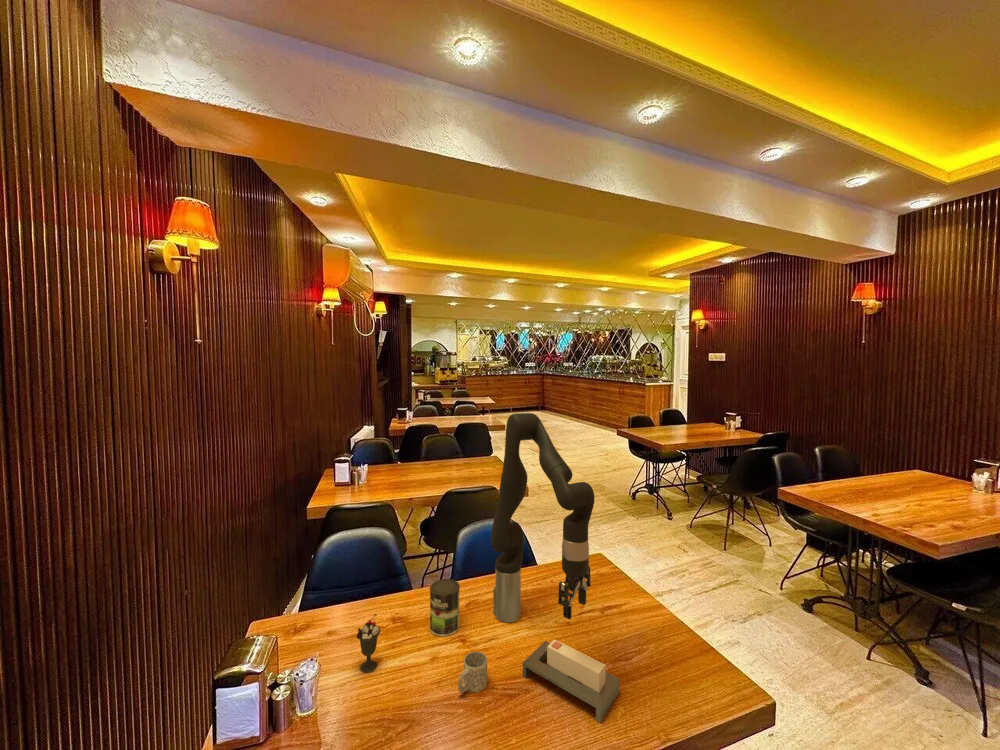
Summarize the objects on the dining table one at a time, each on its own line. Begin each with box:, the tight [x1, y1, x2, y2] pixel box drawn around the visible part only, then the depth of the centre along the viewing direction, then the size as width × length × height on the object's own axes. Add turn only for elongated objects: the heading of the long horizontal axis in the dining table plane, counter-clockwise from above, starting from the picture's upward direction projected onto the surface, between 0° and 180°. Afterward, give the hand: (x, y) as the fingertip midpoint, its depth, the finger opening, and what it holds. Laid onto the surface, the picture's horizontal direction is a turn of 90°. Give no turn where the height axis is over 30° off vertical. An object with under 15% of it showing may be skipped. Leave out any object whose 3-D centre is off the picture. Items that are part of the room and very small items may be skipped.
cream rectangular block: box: [546, 638, 606, 692], centre depth 109 cm, size 16×4×8 cm, turn 51°
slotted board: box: [522, 640, 620, 723], centre depth 110 cm, size 24×12×4 cm, turn 51°
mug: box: [457, 650, 488, 694], centre depth 109 cm, size 10×7×7 cm
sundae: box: [356, 613, 381, 674], centre depth 117 cm, size 7×7×15 cm
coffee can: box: [429, 578, 461, 638], centre depth 135 cm, size 10×10×14 cm
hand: (574, 610), depth 111 cm, fingers open, 8 cm apart
